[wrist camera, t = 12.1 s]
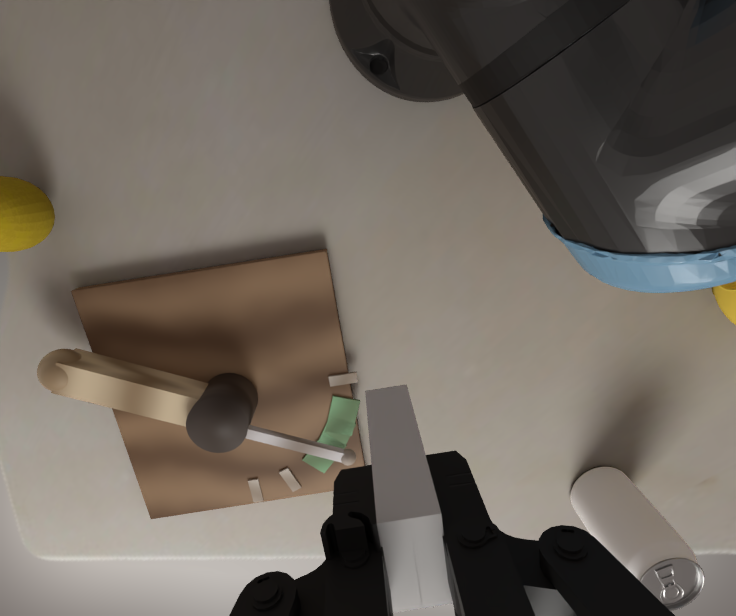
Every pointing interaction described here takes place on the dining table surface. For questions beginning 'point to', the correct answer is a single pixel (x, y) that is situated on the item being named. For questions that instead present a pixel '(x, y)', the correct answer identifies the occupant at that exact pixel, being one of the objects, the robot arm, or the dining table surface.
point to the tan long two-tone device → (173, 401)
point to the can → (637, 535)
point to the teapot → (726, 299)
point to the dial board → (233, 355)
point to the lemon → (23, 215)
